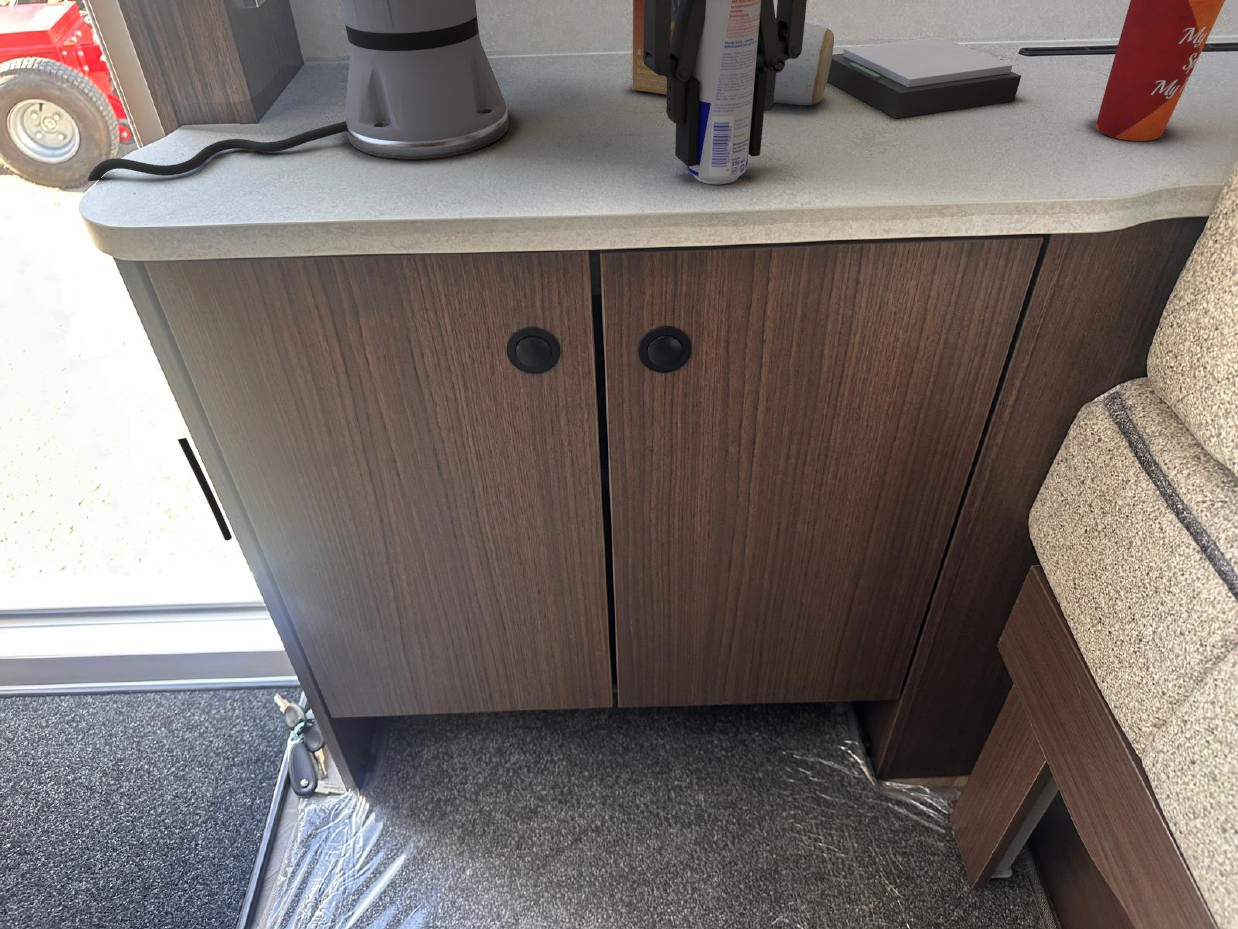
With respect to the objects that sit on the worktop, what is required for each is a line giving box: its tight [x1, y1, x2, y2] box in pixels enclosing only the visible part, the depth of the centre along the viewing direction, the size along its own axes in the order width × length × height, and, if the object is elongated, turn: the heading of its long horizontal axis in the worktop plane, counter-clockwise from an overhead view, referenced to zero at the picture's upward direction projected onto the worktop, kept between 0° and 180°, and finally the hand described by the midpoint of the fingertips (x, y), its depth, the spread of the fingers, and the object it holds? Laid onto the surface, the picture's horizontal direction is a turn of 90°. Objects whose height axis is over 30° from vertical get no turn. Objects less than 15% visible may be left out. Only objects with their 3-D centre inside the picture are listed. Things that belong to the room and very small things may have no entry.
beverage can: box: [686, 0, 761, 185], centre depth 66 cm, size 5×5×15 cm
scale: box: [827, 36, 1022, 119], centre depth 87 cm, size 14×14×3 cm
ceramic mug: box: [773, 22, 835, 106], centre depth 84 cm, size 11×8×8 cm
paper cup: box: [1095, 0, 1226, 142], centre depth 73 cm, size 8×8×14 cm
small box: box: [631, 0, 680, 96], centre depth 86 cm, size 8×6×10 cm
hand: (717, 154), depth 70 cm, fingers closed on beverage can, 5 cm apart
